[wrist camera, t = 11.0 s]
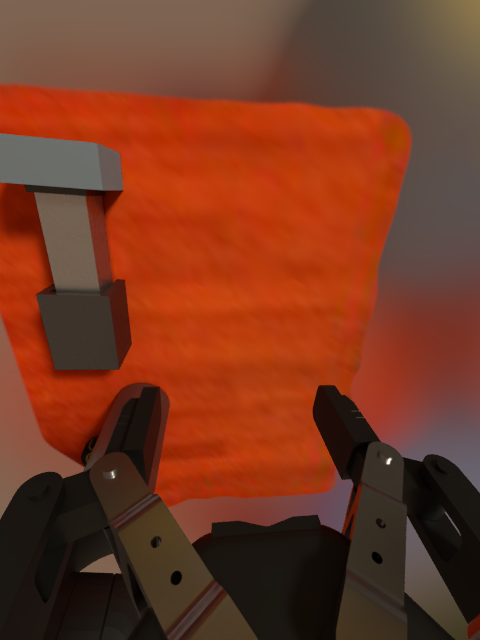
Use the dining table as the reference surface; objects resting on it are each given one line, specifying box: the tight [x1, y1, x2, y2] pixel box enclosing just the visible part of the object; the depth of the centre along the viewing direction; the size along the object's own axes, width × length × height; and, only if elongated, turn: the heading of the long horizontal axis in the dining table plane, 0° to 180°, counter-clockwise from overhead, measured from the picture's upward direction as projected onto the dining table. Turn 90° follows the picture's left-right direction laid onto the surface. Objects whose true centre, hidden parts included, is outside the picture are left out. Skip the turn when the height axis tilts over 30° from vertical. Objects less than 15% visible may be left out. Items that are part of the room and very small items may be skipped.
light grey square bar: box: [25, 184, 113, 294], centre depth 33 cm, size 17×6×6 cm, turn 176°
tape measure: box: [81, 436, 99, 466], centre depth 50 cm, size 7×7×4 cm
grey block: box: [0, 134, 123, 190], centre depth 29 cm, size 4×10×7 cm, turn 85°
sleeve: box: [36, 279, 132, 370], centre depth 37 cm, size 10×8×7 cm
